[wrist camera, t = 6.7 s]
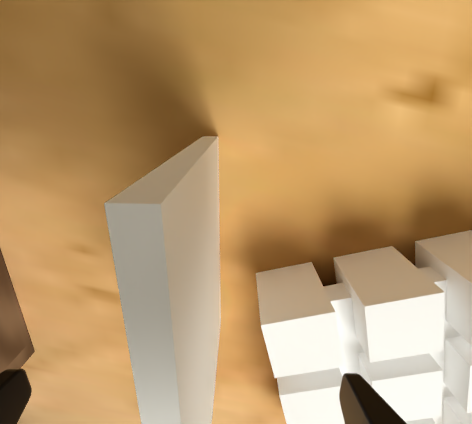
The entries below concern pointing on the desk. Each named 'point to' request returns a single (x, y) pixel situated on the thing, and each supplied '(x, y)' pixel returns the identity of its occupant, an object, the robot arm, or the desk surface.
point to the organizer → (374, 332)
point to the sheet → (171, 283)
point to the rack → (11, 326)
